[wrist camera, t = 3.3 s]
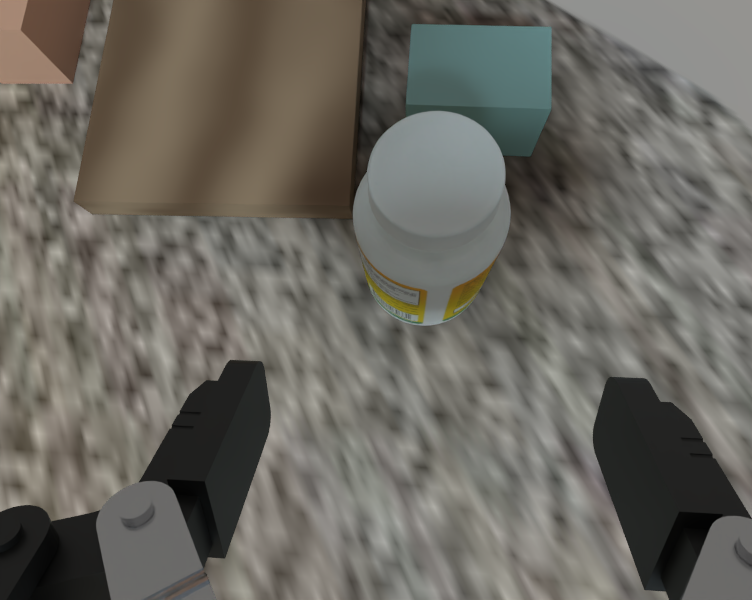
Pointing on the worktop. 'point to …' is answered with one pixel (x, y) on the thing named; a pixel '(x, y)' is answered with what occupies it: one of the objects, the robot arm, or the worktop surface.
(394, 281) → the supplement bottle
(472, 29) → the teal block
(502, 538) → the worktop surface
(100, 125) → the walnut board
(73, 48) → the terracotta block
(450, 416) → the worktop surface
